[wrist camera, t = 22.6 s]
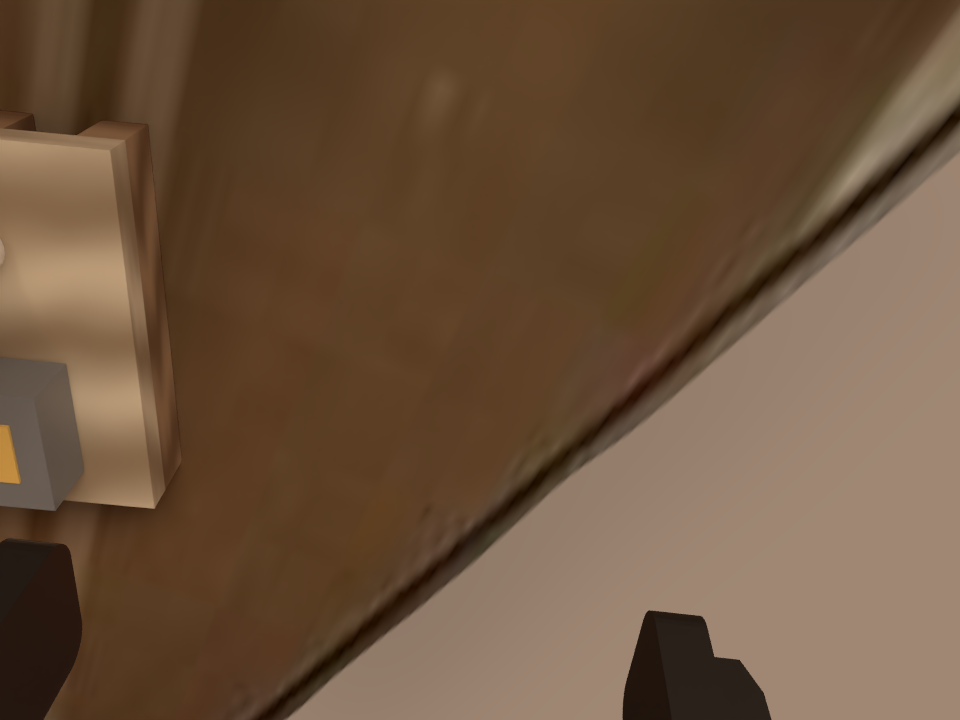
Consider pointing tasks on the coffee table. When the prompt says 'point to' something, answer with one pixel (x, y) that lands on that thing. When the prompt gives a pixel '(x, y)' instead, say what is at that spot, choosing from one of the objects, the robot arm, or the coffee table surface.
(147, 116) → the coffee table surface
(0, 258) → the lightbulb
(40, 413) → the grey box
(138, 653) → the coffee table surface
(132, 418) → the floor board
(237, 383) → the coffee table surface
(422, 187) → the coffee table surface
